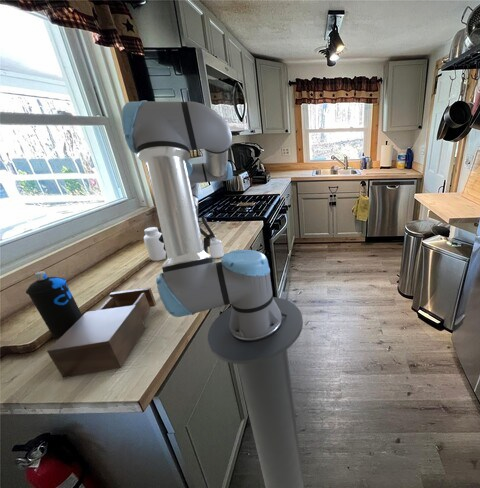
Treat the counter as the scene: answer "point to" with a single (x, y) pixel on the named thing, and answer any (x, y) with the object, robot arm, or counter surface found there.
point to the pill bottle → (154, 244)
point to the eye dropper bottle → (216, 248)
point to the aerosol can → (54, 303)
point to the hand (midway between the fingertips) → (187, 256)
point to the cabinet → (98, 341)
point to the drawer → (131, 300)
